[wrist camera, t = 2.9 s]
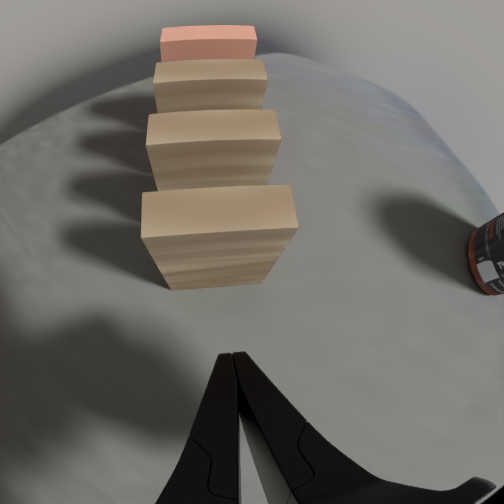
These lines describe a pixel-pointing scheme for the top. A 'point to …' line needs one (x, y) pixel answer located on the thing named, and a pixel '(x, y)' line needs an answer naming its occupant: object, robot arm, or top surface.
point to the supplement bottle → (488, 256)
